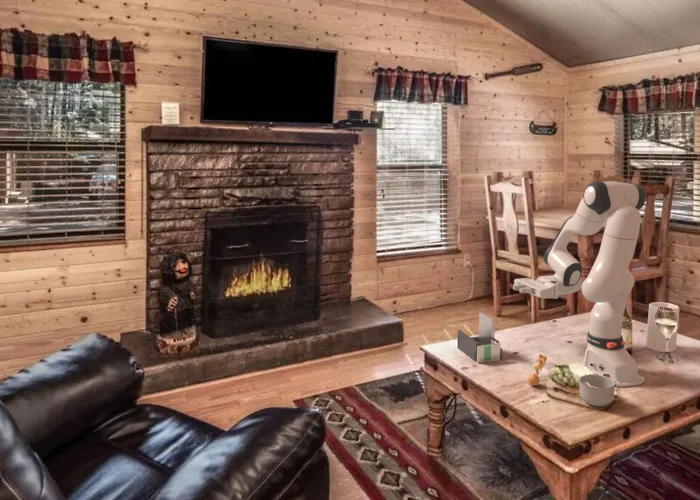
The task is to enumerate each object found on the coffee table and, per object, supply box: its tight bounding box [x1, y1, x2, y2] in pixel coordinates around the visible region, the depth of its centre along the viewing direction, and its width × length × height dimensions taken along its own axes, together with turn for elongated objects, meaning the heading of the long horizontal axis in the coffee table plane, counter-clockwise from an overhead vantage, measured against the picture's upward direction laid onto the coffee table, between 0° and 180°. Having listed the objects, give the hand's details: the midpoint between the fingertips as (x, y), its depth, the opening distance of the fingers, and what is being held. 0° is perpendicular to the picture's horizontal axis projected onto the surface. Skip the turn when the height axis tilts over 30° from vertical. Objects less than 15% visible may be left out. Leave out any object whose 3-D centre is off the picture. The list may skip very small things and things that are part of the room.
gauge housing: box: [457, 329, 503, 364], centre depth 218 cm, size 18×12×8 cm
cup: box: [645, 301, 680, 353], centre depth 218 cm, size 11×11×18 cm
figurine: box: [527, 353, 547, 387], centre depth 187 cm, size 8×6×12 cm
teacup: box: [578, 373, 616, 408], centre depth 175 cm, size 14×11×8 cm
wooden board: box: [478, 311, 500, 345], centre depth 216 cm, size 14×2×14 cm, turn 16°
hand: (517, 289), depth 219 cm, fingers open, 3 cm apart
